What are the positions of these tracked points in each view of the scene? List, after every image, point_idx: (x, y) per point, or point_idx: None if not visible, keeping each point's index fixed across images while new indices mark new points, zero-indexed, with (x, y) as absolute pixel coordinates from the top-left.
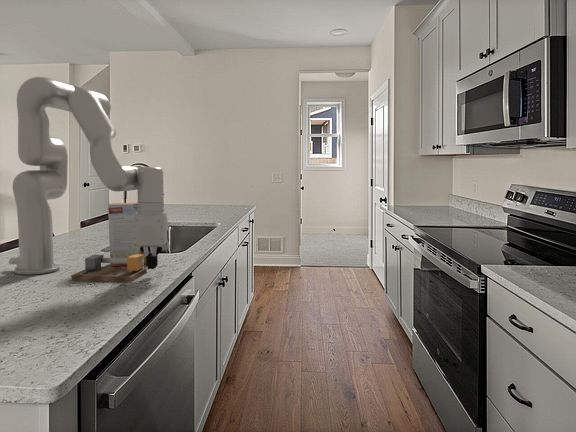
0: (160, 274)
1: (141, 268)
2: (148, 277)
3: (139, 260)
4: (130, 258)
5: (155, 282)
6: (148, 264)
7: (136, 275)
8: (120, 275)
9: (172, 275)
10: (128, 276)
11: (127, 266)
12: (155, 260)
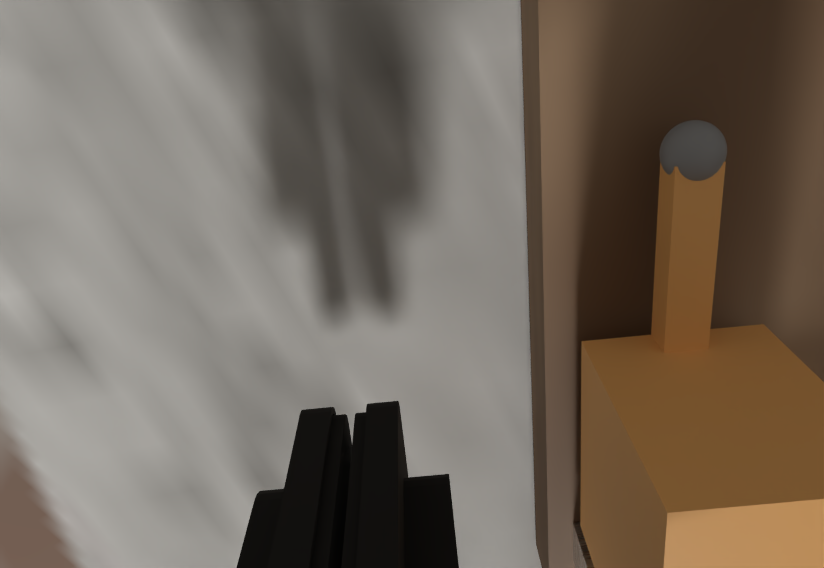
0: None
1: None
2: (392, 333)
3: (626, 561)
4: (821, 476)
5: (100, 45)
6: (378, 453)
7: (537, 222)
8: (798, 52)
9: (124, 495)
10: (611, 5)
11: (796, 364)
12: (243, 563)
